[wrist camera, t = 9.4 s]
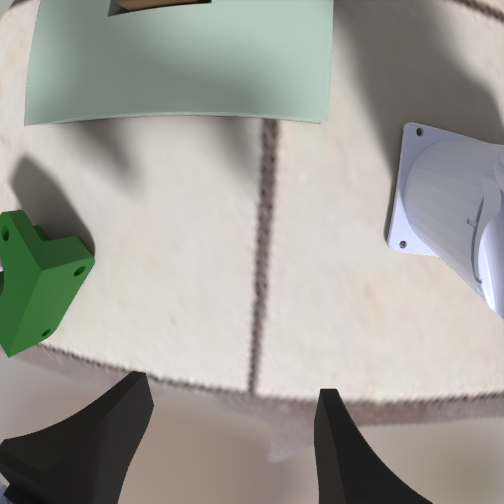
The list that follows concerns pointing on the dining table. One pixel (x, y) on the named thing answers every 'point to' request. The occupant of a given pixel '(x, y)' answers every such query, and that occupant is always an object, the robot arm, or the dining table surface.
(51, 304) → the clamp
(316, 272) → the dining table surface
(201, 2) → the post
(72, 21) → the well block
